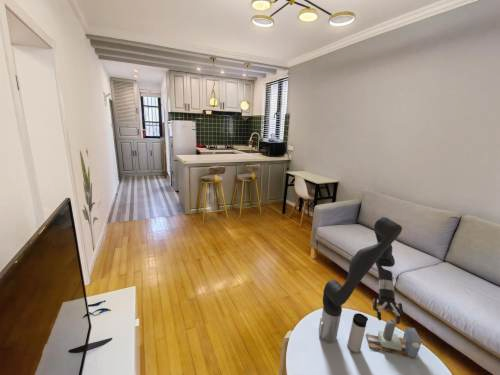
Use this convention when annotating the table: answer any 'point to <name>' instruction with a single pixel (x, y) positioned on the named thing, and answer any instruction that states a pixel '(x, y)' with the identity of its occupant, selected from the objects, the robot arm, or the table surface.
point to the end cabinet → (411, 341)
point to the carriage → (389, 336)
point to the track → (375, 344)
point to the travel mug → (357, 332)
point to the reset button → (402, 341)
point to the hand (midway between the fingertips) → (388, 322)
